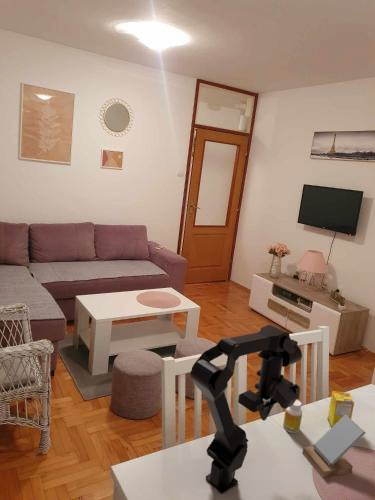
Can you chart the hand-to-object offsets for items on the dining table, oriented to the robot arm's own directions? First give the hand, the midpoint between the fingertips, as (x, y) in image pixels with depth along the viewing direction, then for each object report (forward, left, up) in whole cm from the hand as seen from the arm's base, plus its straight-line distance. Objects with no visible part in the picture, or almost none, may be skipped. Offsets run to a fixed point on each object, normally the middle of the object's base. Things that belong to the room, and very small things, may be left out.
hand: (263, 419), depth 113 cm
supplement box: (+37, -5, -13) cm, 40 cm away
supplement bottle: (+21, +3, -13) cm, 25 cm away
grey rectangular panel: (+15, -12, -11) cm, 22 cm away
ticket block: (+16, -13, -13) cm, 25 cm away
